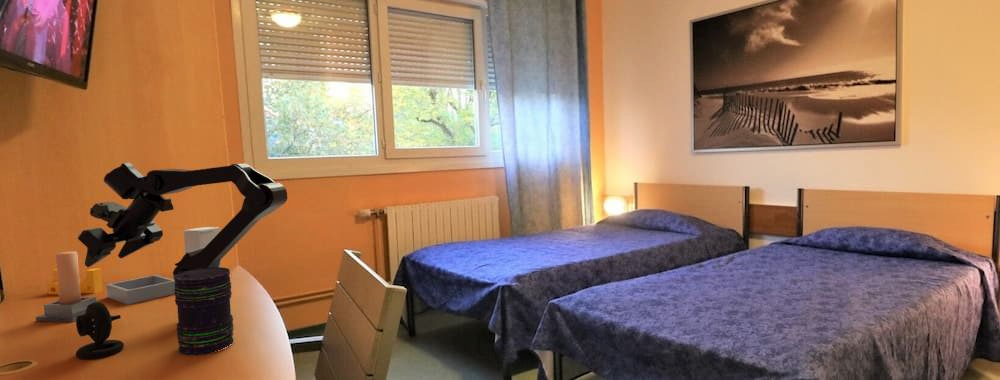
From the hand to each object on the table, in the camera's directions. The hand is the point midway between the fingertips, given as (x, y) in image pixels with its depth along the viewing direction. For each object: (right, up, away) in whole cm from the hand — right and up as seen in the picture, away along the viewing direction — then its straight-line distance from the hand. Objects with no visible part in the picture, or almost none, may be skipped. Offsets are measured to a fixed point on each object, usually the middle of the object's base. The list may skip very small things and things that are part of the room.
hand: (103, 261), depth 125 cm
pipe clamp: (-23, -12, +21) cm, 33 cm away
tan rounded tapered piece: (-8, -12, +1) cm, 15 cm away
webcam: (+16, -15, -22) cm, 31 cm away
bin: (-2, -11, +17) cm, 21 cm away
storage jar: (+35, -15, -19) cm, 42 cm away
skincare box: (+3, -10, +38) cm, 39 cm away
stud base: (-8, -13, +1) cm, 16 cm away
